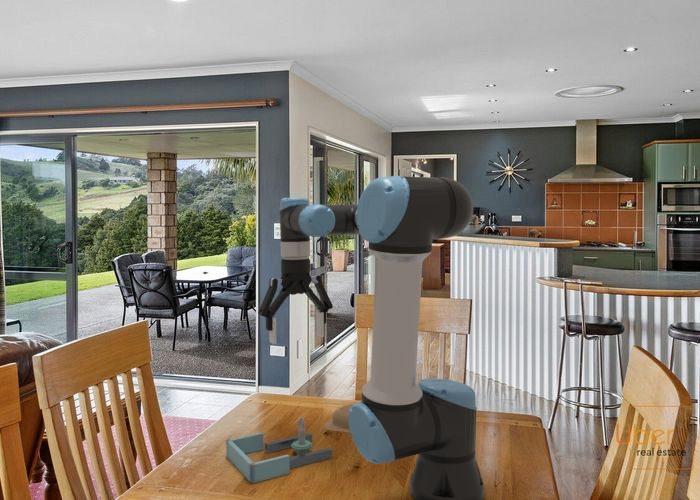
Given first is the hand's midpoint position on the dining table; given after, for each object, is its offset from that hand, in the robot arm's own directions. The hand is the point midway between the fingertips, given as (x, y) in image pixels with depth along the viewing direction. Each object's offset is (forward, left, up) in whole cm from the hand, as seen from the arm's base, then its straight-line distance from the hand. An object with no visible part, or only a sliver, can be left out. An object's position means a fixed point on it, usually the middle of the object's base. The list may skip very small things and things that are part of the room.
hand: (297, 339), depth 151 cm
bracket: (-12, +16, -25) cm, 32 cm away
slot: (-12, +6, -25) cm, 28 cm away
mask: (-7, -20, -25) cm, 33 cm away
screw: (-12, +5, -25) cm, 28 cm away
